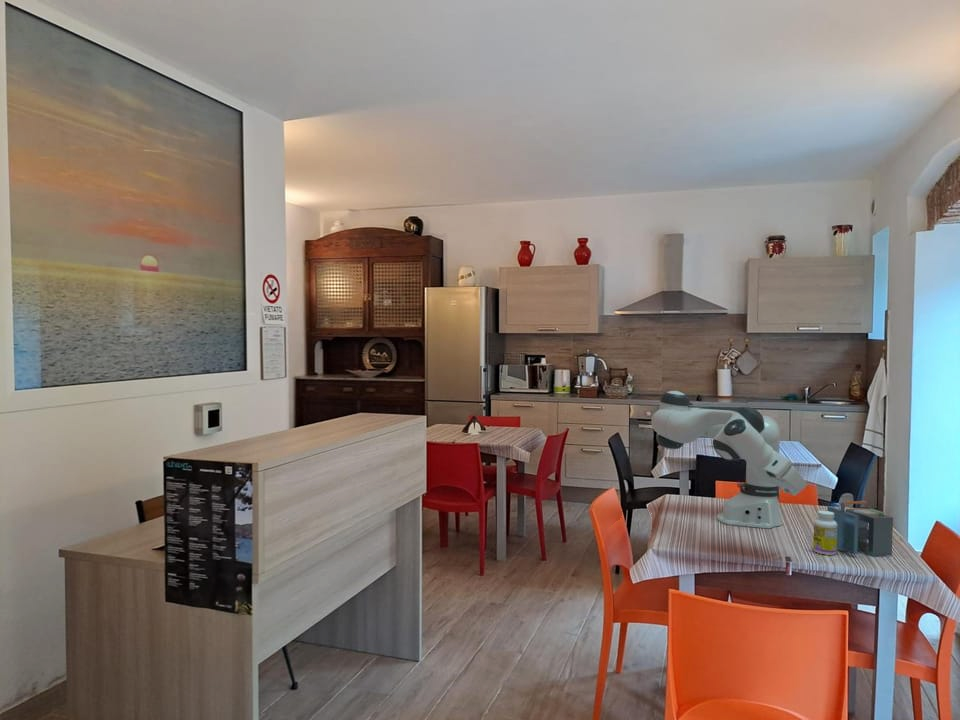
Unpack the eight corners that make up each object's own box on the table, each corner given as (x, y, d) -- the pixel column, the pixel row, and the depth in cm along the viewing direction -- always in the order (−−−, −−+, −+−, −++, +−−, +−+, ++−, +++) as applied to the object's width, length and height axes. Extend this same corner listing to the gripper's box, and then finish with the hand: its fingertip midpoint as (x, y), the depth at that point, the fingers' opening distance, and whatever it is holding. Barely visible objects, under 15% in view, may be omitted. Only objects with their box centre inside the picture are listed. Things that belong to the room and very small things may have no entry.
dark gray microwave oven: (872, 556, 211) (873, 515, 210) (844, 545, 222) (845, 506, 222) (891, 555, 212) (893, 515, 212) (862, 544, 224) (863, 505, 223)
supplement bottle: (809, 549, 218) (810, 509, 217) (831, 549, 217) (832, 510, 217) (818, 555, 211) (819, 514, 211) (840, 556, 210) (841, 515, 210)
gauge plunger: (853, 554, 209) (855, 506, 209) (826, 543, 221) (827, 497, 221) (882, 552, 211) (883, 505, 211) (853, 541, 223) (854, 496, 223)
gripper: (739, 463, 218) (765, 492, 221) (779, 476, 198) (807, 507, 201) (751, 449, 219) (777, 478, 222) (793, 460, 199) (821, 492, 202)
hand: (792, 492), depth 211 cm, fingers closed
